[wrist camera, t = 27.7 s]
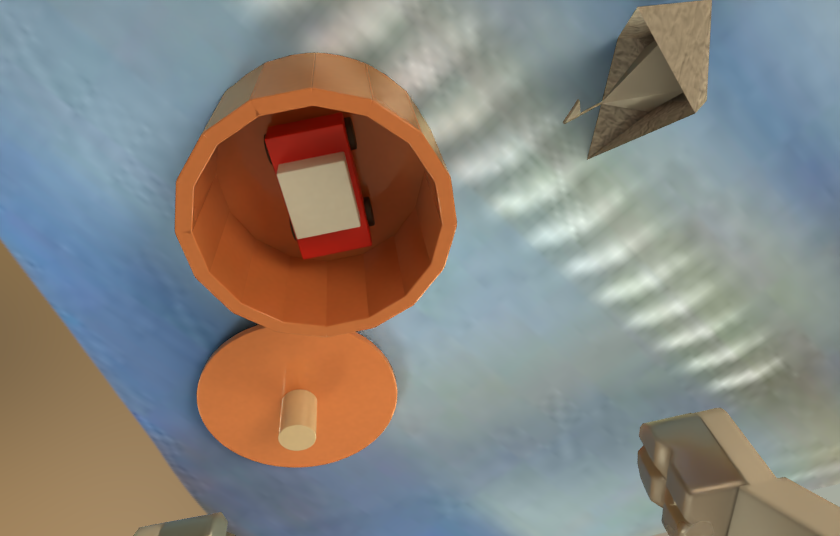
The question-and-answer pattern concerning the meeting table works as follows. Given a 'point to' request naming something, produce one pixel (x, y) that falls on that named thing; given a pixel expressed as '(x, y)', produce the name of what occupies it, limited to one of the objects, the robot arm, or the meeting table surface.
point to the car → (320, 184)
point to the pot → (267, 214)
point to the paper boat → (653, 73)
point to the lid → (296, 396)
